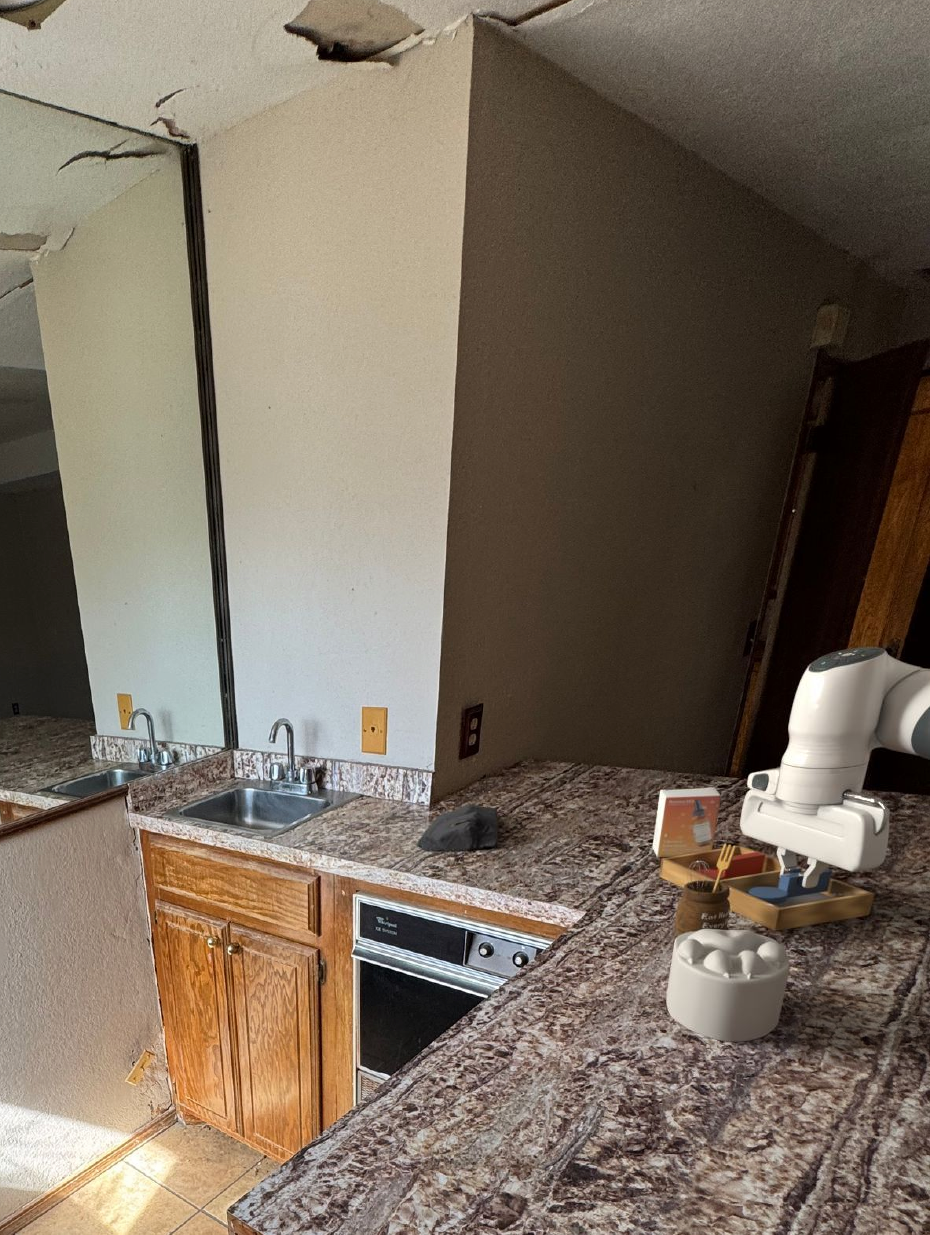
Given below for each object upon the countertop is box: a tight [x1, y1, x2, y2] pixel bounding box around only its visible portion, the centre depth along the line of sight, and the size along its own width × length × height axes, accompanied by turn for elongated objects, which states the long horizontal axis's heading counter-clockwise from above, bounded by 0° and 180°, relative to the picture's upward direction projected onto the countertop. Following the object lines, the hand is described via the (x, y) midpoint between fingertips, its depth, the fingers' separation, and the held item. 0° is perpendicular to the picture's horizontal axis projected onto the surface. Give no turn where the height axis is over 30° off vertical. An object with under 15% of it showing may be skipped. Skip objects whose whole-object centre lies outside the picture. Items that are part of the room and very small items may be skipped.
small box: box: [652, 786, 722, 858], centre depth 131 cm, size 8×6×10 cm
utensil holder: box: [674, 843, 737, 937], centre depth 103 cm, size 6×6×12 cm
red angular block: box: [696, 851, 765, 880], centre depth 119 cm, size 10×4×3 cm, turn 95°
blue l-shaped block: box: [748, 868, 833, 904], centre depth 108 cm, size 10×4×3 cm, turn 95°
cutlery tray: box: [658, 845, 875, 932], centre depth 114 cm, size 13×24×3 cm, turn 5°
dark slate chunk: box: [415, 804, 500, 852], centre depth 158 cm, size 15×22×5 cm
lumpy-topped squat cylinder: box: [665, 929, 791, 1043], centre depth 87 cm, size 10×13×9 cm
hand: (797, 882), depth 108 cm, fingers closed on blue l-shaped block
